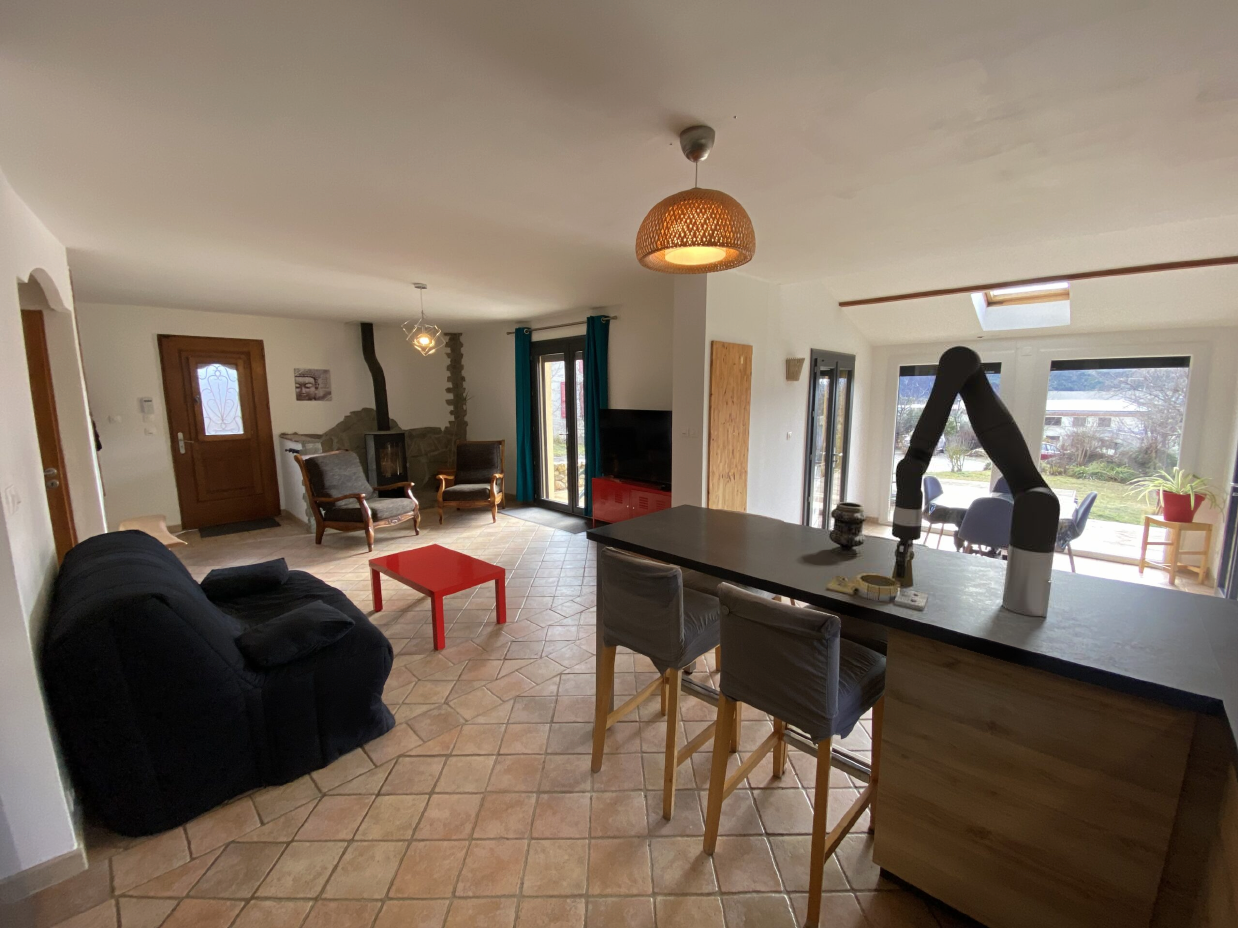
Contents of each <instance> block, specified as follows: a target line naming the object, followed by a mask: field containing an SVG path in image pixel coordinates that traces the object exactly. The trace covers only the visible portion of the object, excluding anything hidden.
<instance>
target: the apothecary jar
mask: <svg viewBox="0 0 1238 928" xmlns="http://www.w3.org/2000/svg"><path fill="white" fill-rule="evenodd" d="M835 507H836V508H834V509H832V511H831V512H830V514H831V517H832V519H834V522H833V528H832V530H831V531H830V532H829V534H828V537H829V539H830V540H831V541H832V542H833V543H834V544H836V545H838V546H835V547H833V548H832V549H831V552H832V553H834V554H836V555H839V556H844V557H860V556H861V555H862V552H861V551H860V550H858V549H857V548H855V547H860V546H863V544H865V542H866V536H865V535H864V534H863V525H864V522H866V520H867V519H868V515H867V513H866V512H865V511H864V508H863V507H864V506H863V505H862V504H860V503H856V502H850V501H839V502H838V503H837V504H836V506H835Z"/></svg>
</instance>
